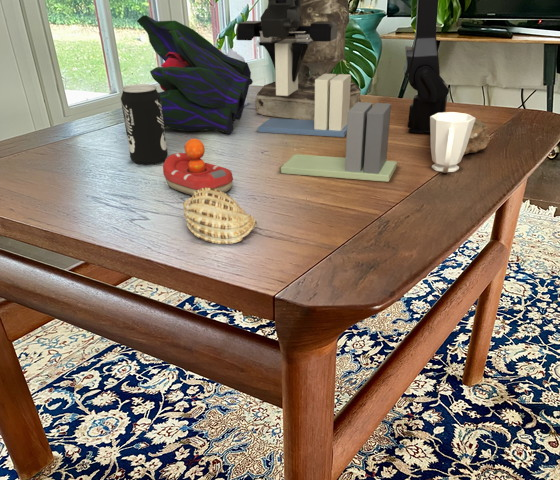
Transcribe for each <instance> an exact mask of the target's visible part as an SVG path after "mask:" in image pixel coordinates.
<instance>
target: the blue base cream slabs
mask: <svg viewBox="0 0 560 480" xmlns="http://www.w3.org/2000/svg"><path fill="white" fill-rule="evenodd" d="M351 82H352V74H351V73H350V74H349V73H348V74H344V73H338V74H336V73H331V74H323V75H322V76H320V77H319V78H317V79H316V80H315V113H314V120H298V119H291V118H281V117H270V118H269V119H267V120H266V121H264V122H262V123H261V124H260V125H259V126H258V127H257V132H258V133H272V134H288V135H300V136H301V135H302V136H319V137H334V138H335V137H336V138H345V137H346V136H347V118H348V111H349V106H350V85H351Z"/></svg>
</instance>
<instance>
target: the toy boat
mask: <svg viewBox="0 0 560 480" xmlns="http://www.w3.org/2000/svg"><path fill="white" fill-rule="evenodd" d="M205 149H206V148H205V145H204V143H203V141H201V140H200V139H198V138H190V139H188V140H187V141H186V142H185V145H184V152H175V153H173V154H170V155H168V156H167V158H166V159H165V161H164V162H163V165H162V171H163V172H162V173H163V176H164V178H165V181H166V183H167V184H168V186H169V187H170V188H172V190H175V191H176V192H177V191H178V192H181V193H184V194H186V195H190V196H191V197H192V196H193V195H194V192H195V191H197V190H199V189H201V188H212V189H216V190H219V191H221V192H224V193H226V192H228V191H229V190H231V188H232V187H233V182H234V176H233V172H232V170H230V169H229V168H227V167H223V166H220V165H216V164H212V163H209V162H205V161H204V159H202V158H203V156H204V155H205V151H206V150H205Z"/></svg>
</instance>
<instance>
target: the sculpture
mask: <svg viewBox="0 0 560 480" xmlns="http://www.w3.org/2000/svg"><path fill="white" fill-rule="evenodd" d="M301 18H303V24H302V25H301V26H311V23H314V22H317V21H334V22H335V23H336V25H337V38H336V39H334V40H332V41H328V42H322V41H314V43H313V44H311V45H309V46H308V48H307V50H306V53H305V55H304V57H303V60H302V63H301V66H300V69H299V72H298V89H297V90H296V91H294V92H293V93H291V94H290V95H288V96H279V95H276V80H275V81H273V82H270V83H267V84H264V85H263V87H261V89H260V90H259V91H258V92H257V93H256V97H255V100H254V103H255V112H256V113H257V114H259V115H262V116H267V117H273V118H280V119H298V120H314V113H315V80H316V79H317V78H319V77H320V76H322V75H323V74H332V72H333V69H334V68H335V67H336V66H337V65H338V64H339V63H340V62H342V61H346V56H345V47H346V31H347V27H348V25H349V23H350V7H349V2H348V0H301ZM277 39H282V40H284V39H295V37H289V36H287V37H285V38H279V37H277ZM361 93H362V90H361V87H359V86H358V85H357V84H356V83H355V82H354V81H351V85H350V106H349V110H350V109H351V108H352V107H353V106H354V105H355V104H356V103H357V102H362V101H361Z"/></svg>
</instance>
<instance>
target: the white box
mask: <svg viewBox="0 0 560 480" xmlns="http://www.w3.org/2000/svg"><path fill="white" fill-rule="evenodd" d="M294 42H296V39H284V40H282V41H280V42H277V43H275V68H274V71H275V81H276V95H279V96H288V95H290V94H291V93H293V92H294V91H296V90H297V89H298V75H297V78H296V81H295V82H293V81H292V63H293V48H292V43H294Z"/></svg>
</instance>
